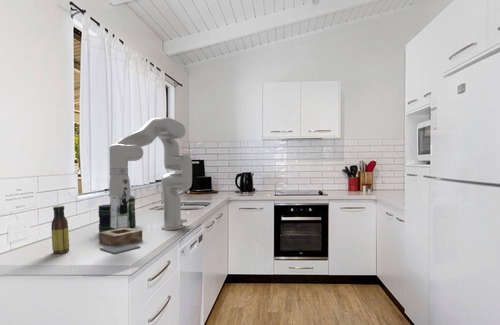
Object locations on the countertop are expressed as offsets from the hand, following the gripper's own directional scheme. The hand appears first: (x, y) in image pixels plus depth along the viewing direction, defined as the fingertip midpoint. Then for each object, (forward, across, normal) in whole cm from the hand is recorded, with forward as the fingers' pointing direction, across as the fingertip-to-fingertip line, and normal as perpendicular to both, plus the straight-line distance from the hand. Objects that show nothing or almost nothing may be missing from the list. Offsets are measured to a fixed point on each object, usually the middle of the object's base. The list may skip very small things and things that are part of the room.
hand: (119, 212), depth 141 cm
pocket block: (+16, +11, -7) cm, 21 cm away
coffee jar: (+16, +41, -29) cm, 53 cm away
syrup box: (+7, 0, 0) cm, 7 cm away
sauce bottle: (+16, +16, +18) cm, 29 cm away
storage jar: (+16, +35, -14) cm, 41 cm away
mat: (+16, 0, 0) cm, 16 cm away
